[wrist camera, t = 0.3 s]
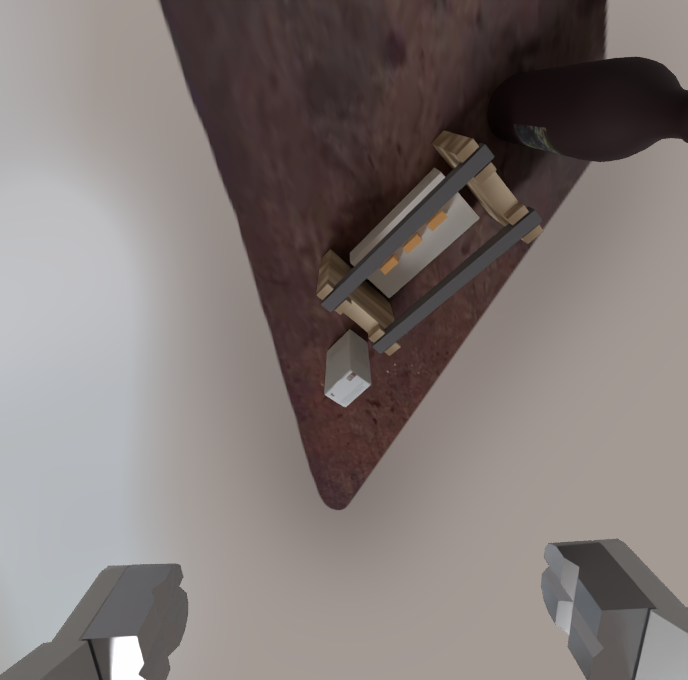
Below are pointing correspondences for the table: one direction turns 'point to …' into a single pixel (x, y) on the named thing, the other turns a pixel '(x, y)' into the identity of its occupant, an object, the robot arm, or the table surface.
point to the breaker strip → (431, 243)
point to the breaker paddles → (413, 242)
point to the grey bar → (458, 278)
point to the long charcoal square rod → (409, 225)
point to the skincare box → (347, 369)
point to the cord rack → (370, 304)
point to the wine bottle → (591, 108)
